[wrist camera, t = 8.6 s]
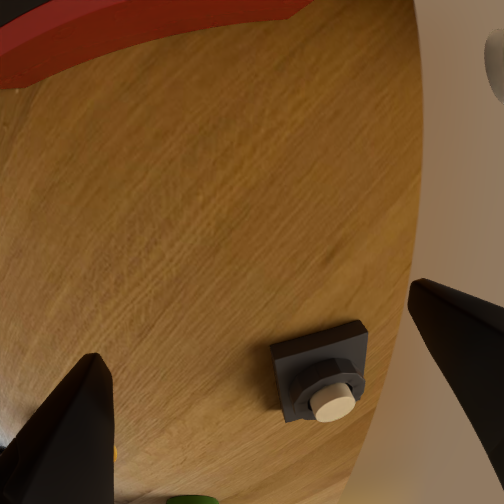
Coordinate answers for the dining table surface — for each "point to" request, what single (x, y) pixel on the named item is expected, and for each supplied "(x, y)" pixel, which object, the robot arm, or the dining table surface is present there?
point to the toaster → (108, 28)
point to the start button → (332, 402)
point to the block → (319, 367)
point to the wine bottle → (192, 500)
